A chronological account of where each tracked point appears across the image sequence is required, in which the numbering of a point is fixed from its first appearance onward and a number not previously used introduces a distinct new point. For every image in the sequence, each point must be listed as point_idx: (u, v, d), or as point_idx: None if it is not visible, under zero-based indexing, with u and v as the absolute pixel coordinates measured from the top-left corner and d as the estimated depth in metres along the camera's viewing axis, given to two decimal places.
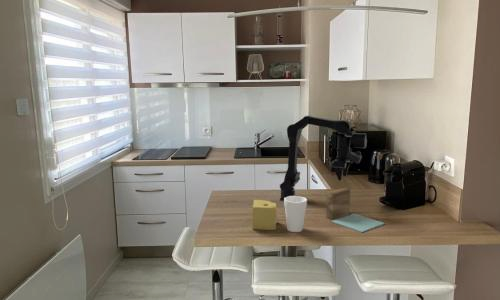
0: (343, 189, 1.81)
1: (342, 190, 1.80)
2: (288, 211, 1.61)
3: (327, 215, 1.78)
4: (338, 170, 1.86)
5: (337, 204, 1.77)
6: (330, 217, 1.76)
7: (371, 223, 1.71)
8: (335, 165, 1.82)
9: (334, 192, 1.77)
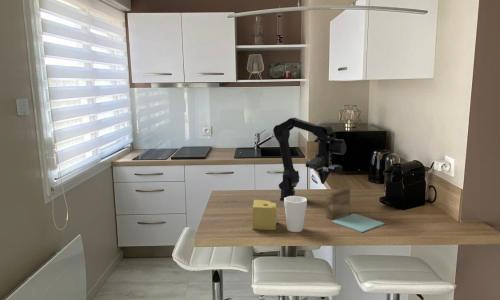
0: (343, 189, 1.81)
1: (342, 190, 1.80)
2: (288, 211, 1.61)
3: (327, 215, 1.78)
4: None
5: (337, 204, 1.77)
6: (330, 217, 1.76)
7: (371, 223, 1.71)
8: None
9: (334, 192, 1.77)
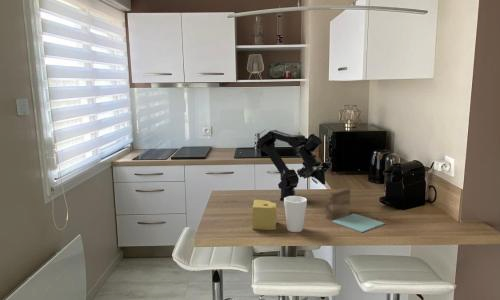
0: (343, 189, 1.81)
1: (342, 190, 1.80)
2: (288, 211, 1.61)
3: (327, 215, 1.78)
4: None
5: (337, 204, 1.77)
6: (330, 217, 1.76)
7: (371, 223, 1.71)
8: None
9: (334, 192, 1.77)
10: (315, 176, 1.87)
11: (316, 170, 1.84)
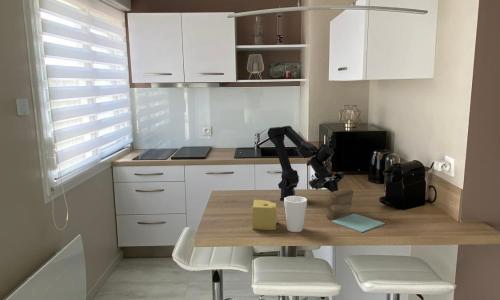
0: (346, 189, 1.80)
1: (345, 191, 1.78)
2: (288, 211, 1.61)
3: (327, 214, 1.78)
4: None
5: (339, 205, 1.76)
6: (330, 217, 1.76)
7: (371, 223, 1.71)
8: None
9: (337, 193, 1.75)
10: (328, 187, 1.81)
11: (329, 181, 1.79)
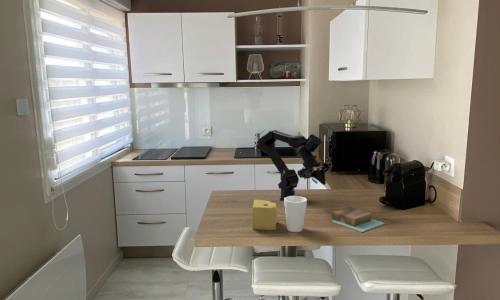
0: (368, 217, 1.72)
1: (366, 219, 1.71)
2: (288, 211, 1.61)
3: (334, 213, 1.74)
4: None
5: None
6: (333, 217, 1.75)
7: (371, 223, 1.71)
8: None
9: (358, 222, 1.68)
10: (315, 176, 1.87)
11: (316, 170, 1.84)
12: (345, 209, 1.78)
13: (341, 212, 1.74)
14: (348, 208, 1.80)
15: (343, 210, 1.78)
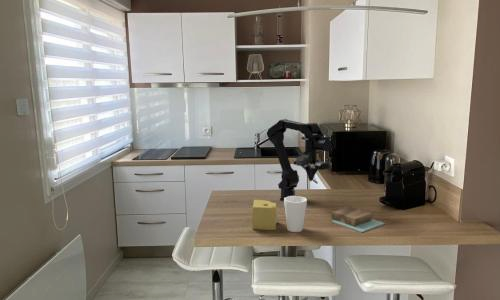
0: (368, 217, 1.72)
1: (366, 219, 1.71)
2: (288, 211, 1.61)
3: (334, 213, 1.74)
4: None
5: None
6: (333, 217, 1.75)
7: (371, 223, 1.71)
8: None
9: (358, 222, 1.68)
10: (312, 171, 1.90)
11: None
12: (345, 209, 1.78)
13: (341, 212, 1.74)
14: (348, 208, 1.80)
15: (343, 210, 1.78)
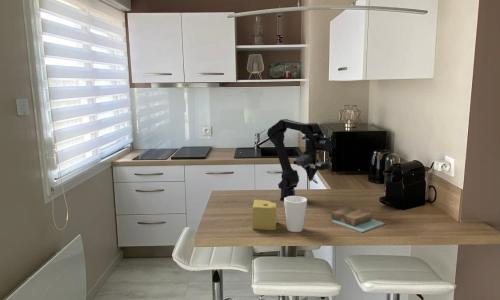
0: (368, 217, 1.72)
1: (366, 219, 1.71)
2: (288, 211, 1.61)
3: (334, 213, 1.74)
4: None
5: None
6: (333, 217, 1.75)
7: (371, 223, 1.71)
8: None
9: (358, 222, 1.68)
10: (312, 171, 1.90)
11: None
12: (345, 209, 1.78)
13: (341, 212, 1.74)
14: (348, 208, 1.80)
15: (343, 210, 1.78)
